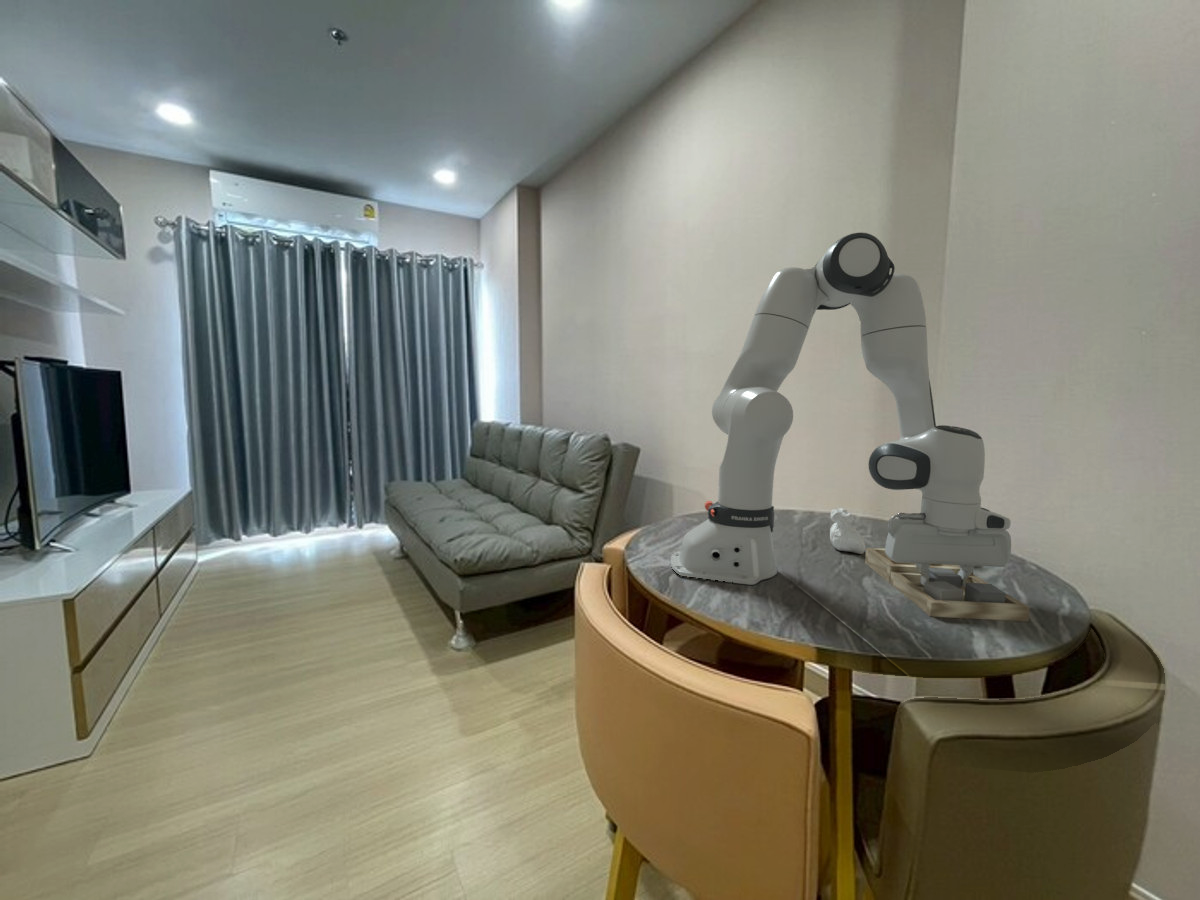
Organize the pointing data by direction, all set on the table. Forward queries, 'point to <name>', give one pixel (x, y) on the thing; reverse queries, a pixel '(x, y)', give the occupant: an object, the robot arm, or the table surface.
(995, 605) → the tray
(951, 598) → the block
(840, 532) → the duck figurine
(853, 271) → the robot arm
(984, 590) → the stone right
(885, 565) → the tray
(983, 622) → the table surface
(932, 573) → the stone mid
